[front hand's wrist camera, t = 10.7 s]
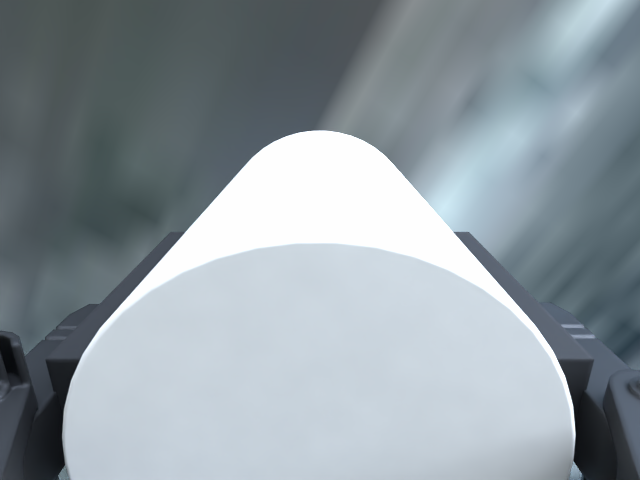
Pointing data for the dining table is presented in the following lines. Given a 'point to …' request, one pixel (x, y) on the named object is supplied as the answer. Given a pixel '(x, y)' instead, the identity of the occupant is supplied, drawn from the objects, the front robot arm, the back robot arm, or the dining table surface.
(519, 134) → the dining table surface
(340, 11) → the dining table surface
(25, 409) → the front robot arm
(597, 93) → the dining table surface
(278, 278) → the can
